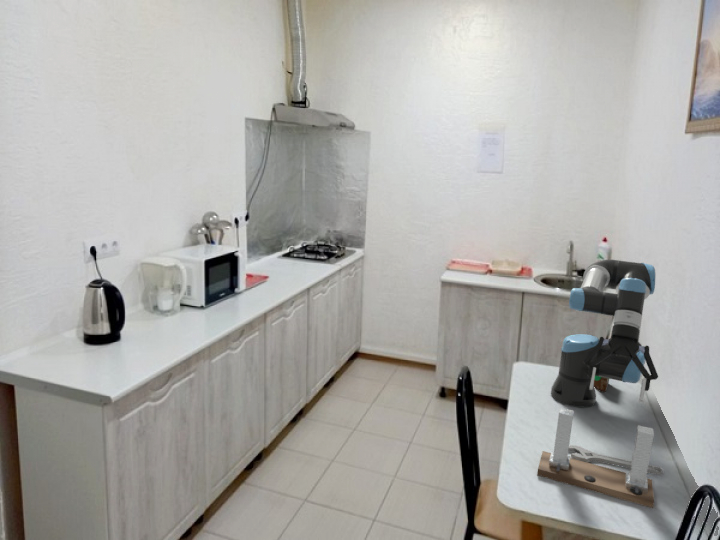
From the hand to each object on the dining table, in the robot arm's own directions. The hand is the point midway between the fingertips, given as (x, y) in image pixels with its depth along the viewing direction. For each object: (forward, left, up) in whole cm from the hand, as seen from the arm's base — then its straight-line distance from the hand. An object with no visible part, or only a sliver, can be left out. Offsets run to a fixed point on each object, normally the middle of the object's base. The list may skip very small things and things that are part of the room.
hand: (615, 395), depth 157 cm
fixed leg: (+23, +7, -15) cm, 28 cm away
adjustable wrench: (+10, +2, -17) cm, 20 cm away
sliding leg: (+23, -12, -14) cm, 29 cm away
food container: (-45, -4, -17) cm, 48 cm away
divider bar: (+22, -3, -17) cm, 28 cm away
